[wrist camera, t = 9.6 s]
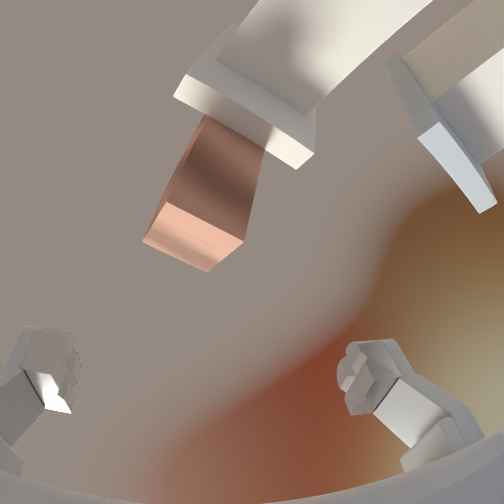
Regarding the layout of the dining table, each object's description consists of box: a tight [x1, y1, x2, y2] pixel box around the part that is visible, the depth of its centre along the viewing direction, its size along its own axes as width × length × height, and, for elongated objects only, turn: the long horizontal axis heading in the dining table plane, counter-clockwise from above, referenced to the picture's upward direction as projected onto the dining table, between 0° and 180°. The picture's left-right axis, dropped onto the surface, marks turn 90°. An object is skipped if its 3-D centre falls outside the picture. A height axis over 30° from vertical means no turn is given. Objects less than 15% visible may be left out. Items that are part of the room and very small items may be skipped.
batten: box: [142, 114, 265, 272], centre depth 24 cm, size 24×4×4 cm, turn 12°
